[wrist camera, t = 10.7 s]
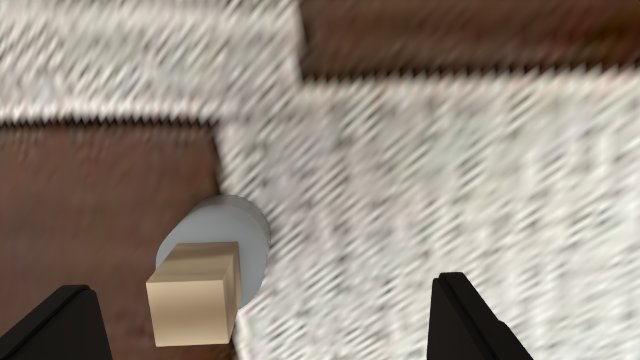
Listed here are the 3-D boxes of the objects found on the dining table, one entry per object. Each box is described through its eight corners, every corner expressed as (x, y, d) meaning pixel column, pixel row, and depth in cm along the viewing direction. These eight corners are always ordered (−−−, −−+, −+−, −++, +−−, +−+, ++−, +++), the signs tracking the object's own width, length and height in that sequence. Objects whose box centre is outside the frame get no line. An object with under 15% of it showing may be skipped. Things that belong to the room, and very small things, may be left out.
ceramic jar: (177, 196, 35) (148, 222, 28) (268, 192, 35) (259, 217, 29) (188, 276, 37) (163, 318, 31) (273, 272, 38) (267, 312, 31)
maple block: (177, 243, 29) (146, 282, 23) (238, 241, 29) (222, 280, 23) (184, 296, 30) (156, 346, 24) (242, 294, 30) (228, 343, 25)
